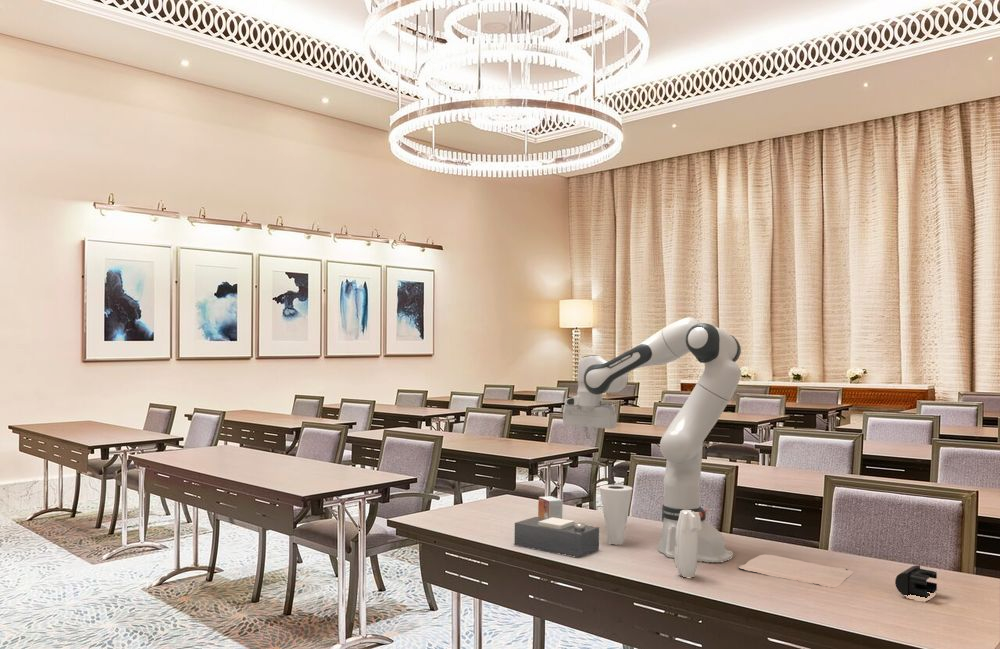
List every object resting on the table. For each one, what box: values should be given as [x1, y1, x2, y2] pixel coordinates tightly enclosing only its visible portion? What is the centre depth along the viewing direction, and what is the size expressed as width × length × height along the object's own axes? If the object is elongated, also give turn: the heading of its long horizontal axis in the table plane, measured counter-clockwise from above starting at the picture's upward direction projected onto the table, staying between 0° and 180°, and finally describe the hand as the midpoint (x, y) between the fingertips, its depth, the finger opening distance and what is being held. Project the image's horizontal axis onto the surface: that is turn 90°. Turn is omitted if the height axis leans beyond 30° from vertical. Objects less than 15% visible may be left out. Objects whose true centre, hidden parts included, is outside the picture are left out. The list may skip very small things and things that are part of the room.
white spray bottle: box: [674, 510, 702, 578], centre depth 207 cm, size 7×18×7 cm
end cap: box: [894, 565, 938, 598], centre depth 192 cm, size 10×7×7 cm
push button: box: [538, 517, 576, 529], centre depth 236 cm, size 8×8×7 cm
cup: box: [599, 484, 633, 545], centre depth 243 cm, size 11×11×18 cm
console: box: [513, 516, 600, 559], centre depth 236 cm, size 24×12×9 cm, turn 53°
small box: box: [537, 495, 564, 519], centre depth 262 cm, size 8×6×10 cm
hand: (589, 440), depth 263 cm, fingers closed
